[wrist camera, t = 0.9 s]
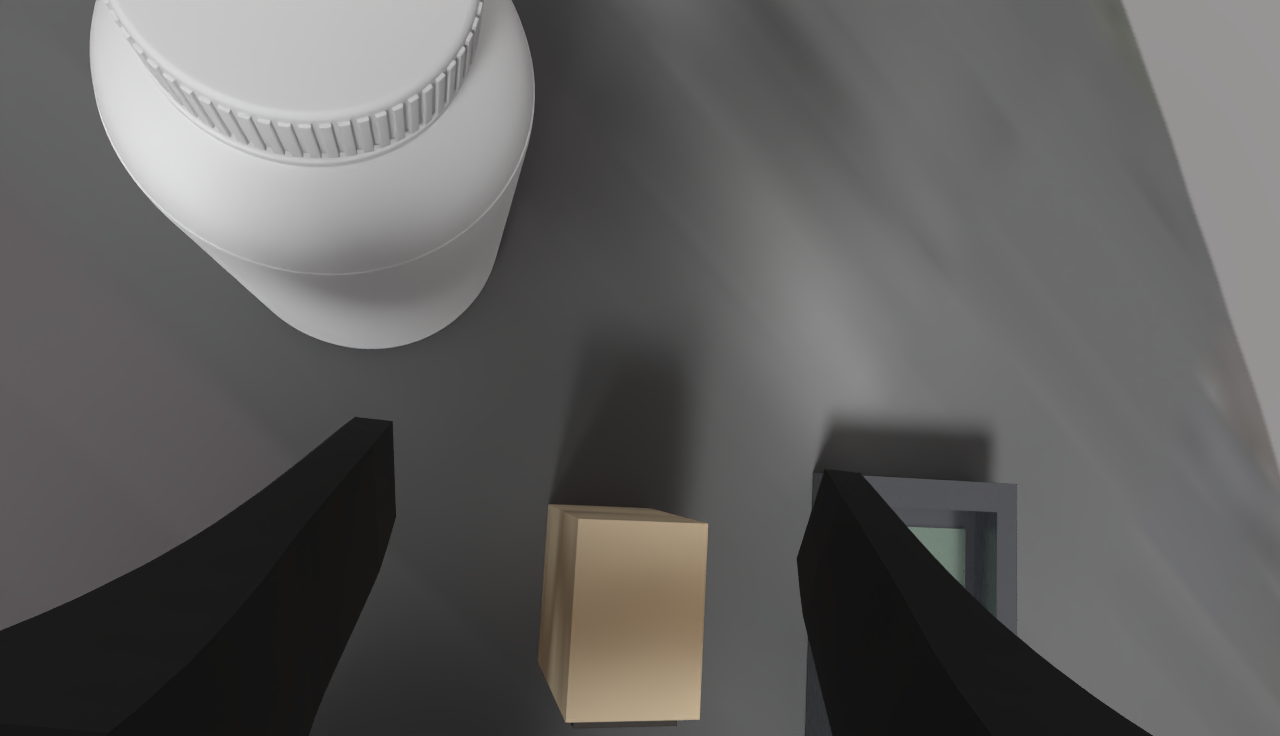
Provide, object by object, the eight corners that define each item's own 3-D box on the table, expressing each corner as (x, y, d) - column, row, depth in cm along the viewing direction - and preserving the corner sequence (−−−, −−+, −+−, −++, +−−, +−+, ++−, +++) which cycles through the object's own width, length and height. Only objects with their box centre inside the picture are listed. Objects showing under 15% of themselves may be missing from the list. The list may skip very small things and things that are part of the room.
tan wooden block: (642, 673, 26) (698, 735, 21) (536, 674, 26) (564, 739, 20) (651, 508, 27) (707, 523, 21) (548, 504, 26) (578, 518, 20)
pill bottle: (543, 198, 27) (660, -92, 13) (413, 399, 25) (377, 331, 11) (334, 62, 26) (197, -431, 11) (183, 264, 24) (-200, -13, 10)
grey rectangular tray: (973, 937, 28) (1016, 977, 26) (798, 954, 27) (829, 998, 24) (976, 481, 30) (1016, 484, 28) (813, 472, 28) (843, 474, 26)
